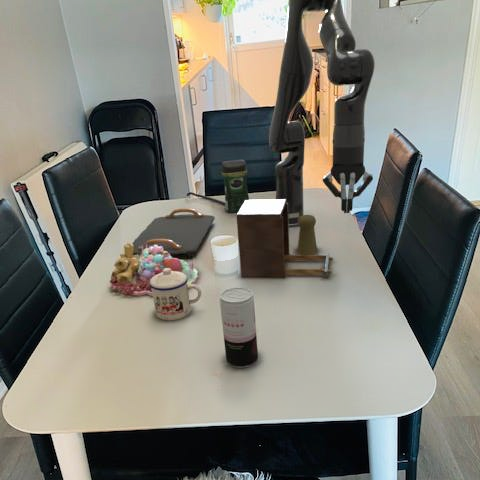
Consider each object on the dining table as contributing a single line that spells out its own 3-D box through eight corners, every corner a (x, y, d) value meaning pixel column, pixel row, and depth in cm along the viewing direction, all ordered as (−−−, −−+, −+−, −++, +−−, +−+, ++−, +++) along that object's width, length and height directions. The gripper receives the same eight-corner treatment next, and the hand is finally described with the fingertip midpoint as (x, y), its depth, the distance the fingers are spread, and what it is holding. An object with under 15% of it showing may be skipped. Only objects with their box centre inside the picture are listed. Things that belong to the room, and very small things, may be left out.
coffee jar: (248, 205, 197) (245, 157, 188) (251, 211, 190) (247, 161, 181) (224, 207, 196) (219, 159, 187) (226, 213, 189) (221, 164, 180)
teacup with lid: (151, 322, 119) (143, 278, 113) (159, 304, 127) (151, 262, 121) (201, 320, 118) (195, 275, 112) (205, 302, 126) (200, 260, 120)
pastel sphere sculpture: (100, 300, 132) (92, 268, 127) (121, 265, 152) (115, 236, 148) (193, 295, 130) (189, 262, 126) (202, 260, 151) (198, 231, 146)
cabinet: (289, 259, 146) (287, 199, 137) (284, 278, 135) (282, 213, 126) (249, 259, 148) (245, 199, 140) (241, 277, 137) (236, 214, 129)
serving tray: (194, 262, 150) (192, 243, 146) (122, 263, 153) (118, 244, 150) (218, 220, 183) (216, 204, 180) (158, 222, 186) (155, 206, 183)
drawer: (332, 258, 143) (332, 253, 142) (331, 277, 132) (331, 271, 131) (284, 258, 146) (284, 253, 145) (279, 276, 135) (278, 271, 134)
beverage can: (235, 348, 106) (229, 285, 99) (263, 354, 103) (259, 289, 96) (220, 364, 101) (212, 299, 94) (249, 371, 98) (243, 304, 91)
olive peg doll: (316, 246, 153) (316, 212, 147) (317, 254, 148) (317, 218, 142) (297, 247, 154) (296, 213, 148) (297, 255, 148) (296, 219, 143)
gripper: (375, 138, 123) (372, 207, 131) (321, 141, 125) (321, 208, 134) (377, 144, 116) (373, 216, 125) (320, 147, 119) (320, 217, 128)
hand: (346, 212), depth 129 cm, fingers closed
